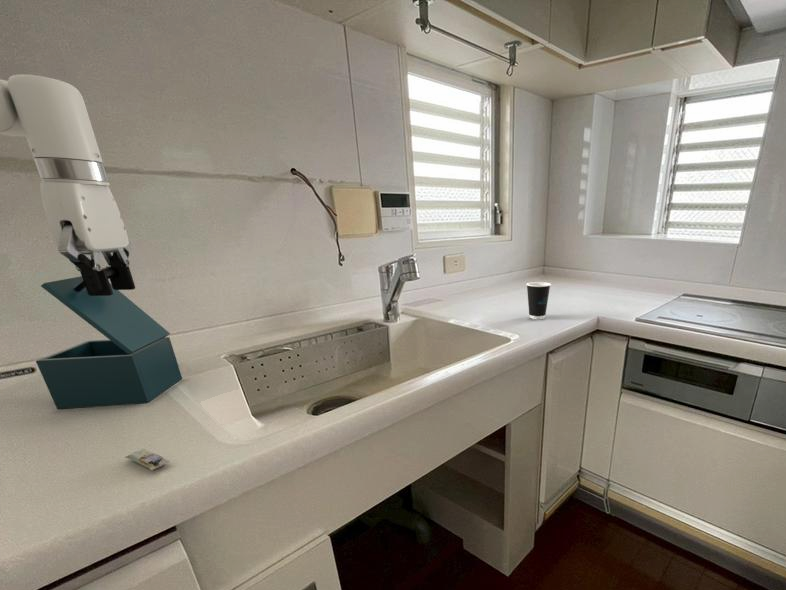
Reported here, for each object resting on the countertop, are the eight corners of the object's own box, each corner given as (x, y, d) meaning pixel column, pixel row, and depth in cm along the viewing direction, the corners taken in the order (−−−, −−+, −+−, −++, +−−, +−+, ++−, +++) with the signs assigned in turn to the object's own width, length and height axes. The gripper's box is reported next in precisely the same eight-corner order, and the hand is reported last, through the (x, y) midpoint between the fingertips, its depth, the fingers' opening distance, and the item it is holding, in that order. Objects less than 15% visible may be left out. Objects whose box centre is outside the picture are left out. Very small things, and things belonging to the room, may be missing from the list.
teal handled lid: (40, 286, 62) (66, 263, 61) (94, 275, 72) (117, 256, 72) (128, 354, 68) (153, 334, 67) (167, 335, 78) (188, 318, 78)
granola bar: (125, 460, 54) (122, 453, 54) (145, 452, 56) (142, 445, 56) (152, 473, 51) (149, 466, 51) (172, 464, 53) (170, 457, 53)
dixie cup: (529, 313, 137) (530, 281, 133) (552, 315, 134) (553, 282, 130) (522, 318, 130) (522, 284, 126) (545, 321, 127) (547, 286, 123)
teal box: (57, 409, 68) (35, 360, 65) (104, 383, 79) (87, 340, 76) (148, 402, 71) (131, 355, 68) (182, 378, 81) (169, 336, 78)
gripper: (86, 178, 69) (120, 285, 76) (-8, 167, 54) (45, 302, 60) (136, 180, 71) (166, 284, 77) (58, 169, 55) (104, 301, 62)
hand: (113, 291), depth 69 cm, fingers closed on teal handled lid, 5 cm apart
